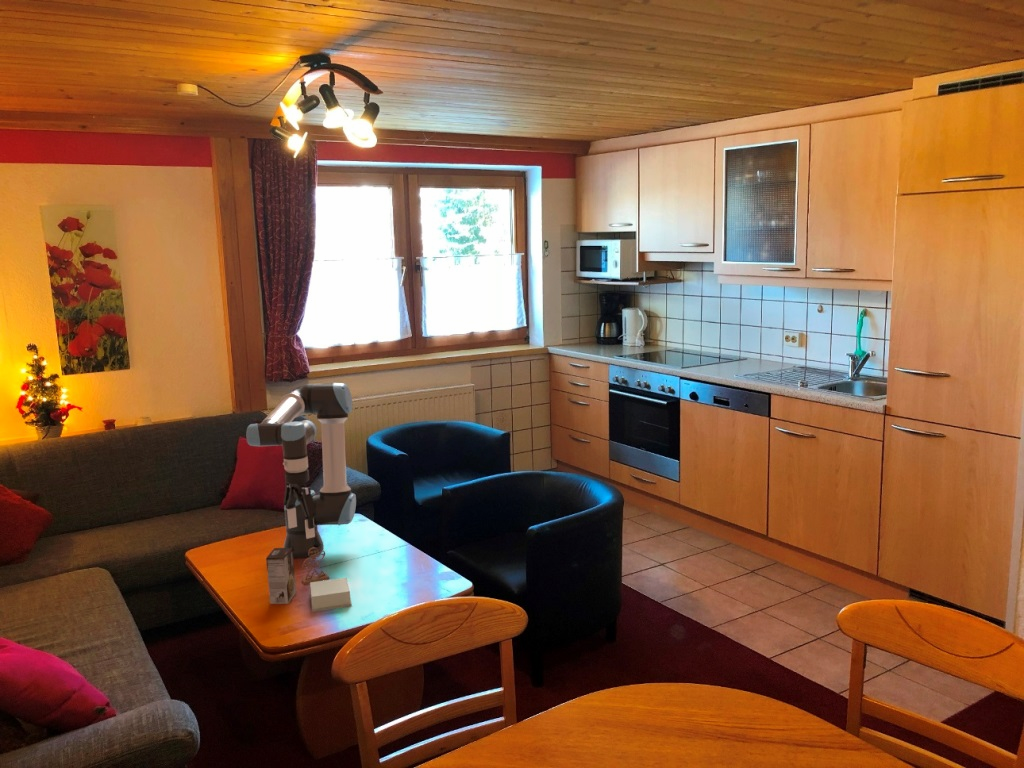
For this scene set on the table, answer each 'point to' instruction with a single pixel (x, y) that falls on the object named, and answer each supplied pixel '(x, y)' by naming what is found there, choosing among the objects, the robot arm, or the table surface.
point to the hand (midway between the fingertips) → (301, 532)
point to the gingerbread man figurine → (318, 577)
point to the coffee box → (281, 575)
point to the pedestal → (330, 594)
